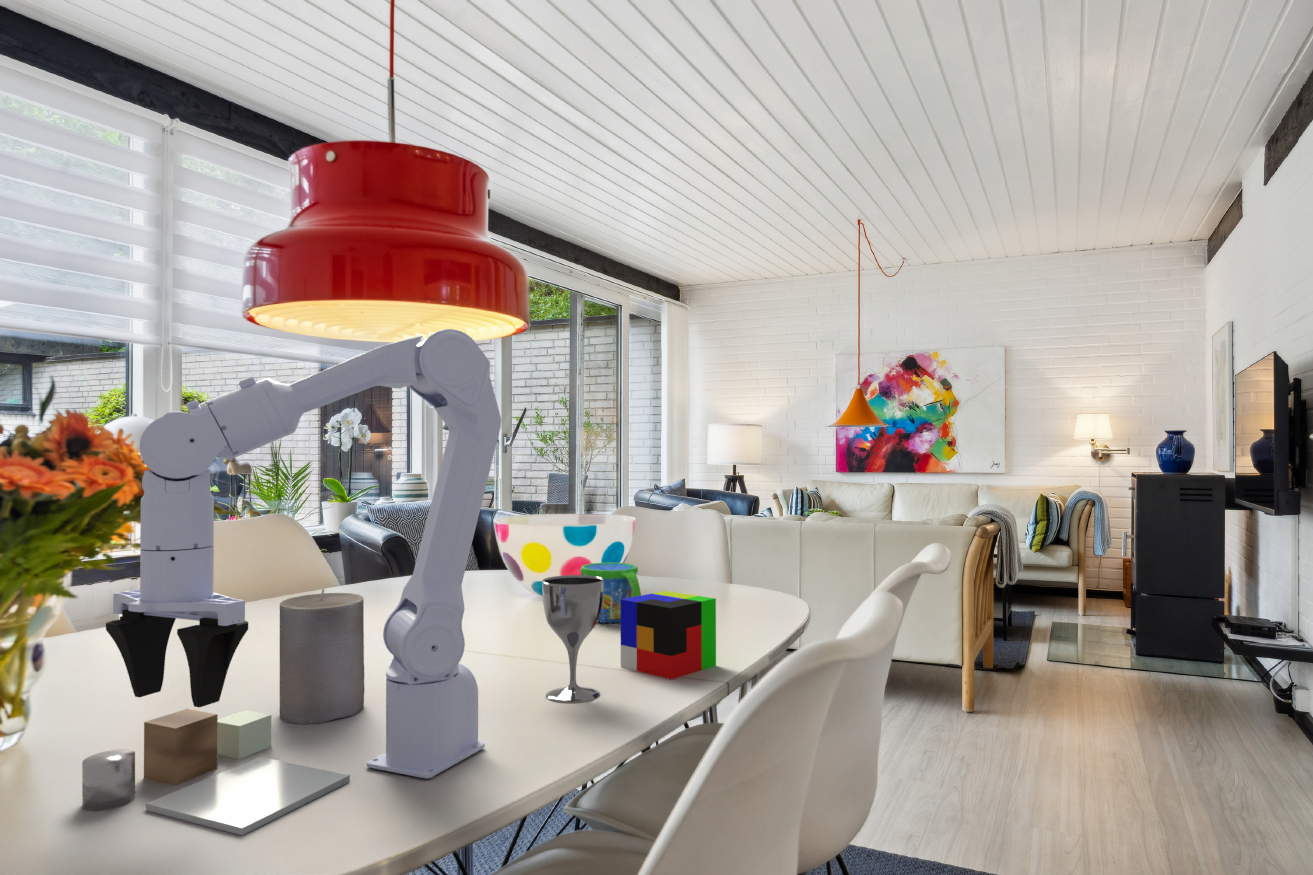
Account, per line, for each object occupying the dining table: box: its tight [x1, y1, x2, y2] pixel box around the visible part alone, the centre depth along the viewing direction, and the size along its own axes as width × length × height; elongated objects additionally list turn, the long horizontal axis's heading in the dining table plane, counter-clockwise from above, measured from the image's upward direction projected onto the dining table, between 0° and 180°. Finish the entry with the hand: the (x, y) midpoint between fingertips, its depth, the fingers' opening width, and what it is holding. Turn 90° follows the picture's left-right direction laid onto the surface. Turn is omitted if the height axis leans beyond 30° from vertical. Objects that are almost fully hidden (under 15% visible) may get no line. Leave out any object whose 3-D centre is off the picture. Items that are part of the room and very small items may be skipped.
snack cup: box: [580, 562, 642, 624], centre depth 154 cm, size 16×10×10 cm
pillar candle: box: [279, 588, 365, 725], centre depth 100 cm, size 10×10×15 cm
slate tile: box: [145, 756, 351, 836], centre depth 75 cm, size 12×12×1 cm
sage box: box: [217, 709, 272, 760], centre depth 87 cm, size 4×4×4 cm
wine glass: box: [541, 574, 603, 704], centre depth 107 cm, size 8×8×15 cm
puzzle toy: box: [620, 590, 717, 680], centre depth 121 cm, size 10×10×10 cm
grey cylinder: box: [81, 748, 136, 812], centre depth 74 cm, size 4×4×4 cm
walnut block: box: [143, 708, 219, 786], centre depth 81 cm, size 4×4×6 cm
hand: (176, 698), depth 73 cm, fingers open, 7 cm apart
